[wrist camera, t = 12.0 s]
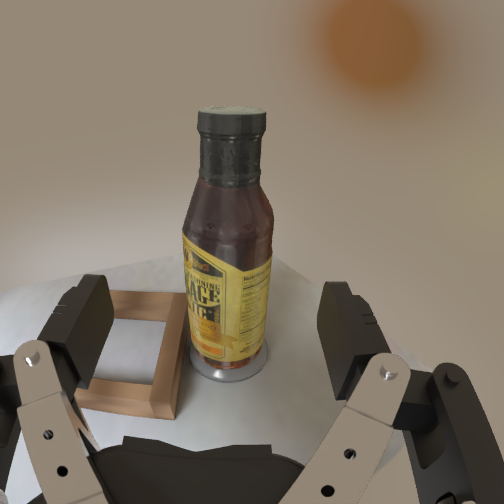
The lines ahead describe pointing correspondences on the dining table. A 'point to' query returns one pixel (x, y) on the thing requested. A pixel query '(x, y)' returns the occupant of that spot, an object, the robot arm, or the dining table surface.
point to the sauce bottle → (228, 239)
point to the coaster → (229, 374)
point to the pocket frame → (168, 366)
